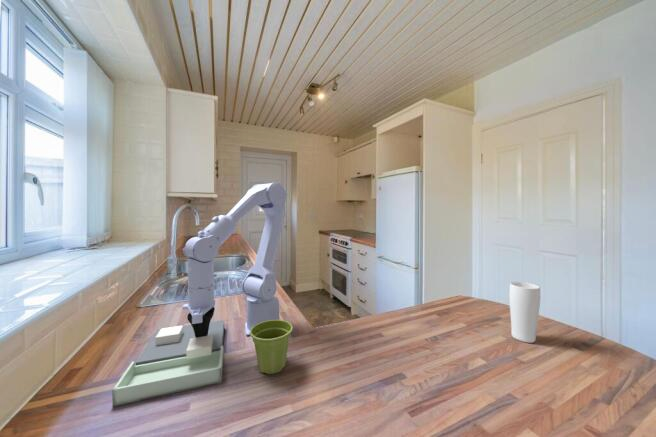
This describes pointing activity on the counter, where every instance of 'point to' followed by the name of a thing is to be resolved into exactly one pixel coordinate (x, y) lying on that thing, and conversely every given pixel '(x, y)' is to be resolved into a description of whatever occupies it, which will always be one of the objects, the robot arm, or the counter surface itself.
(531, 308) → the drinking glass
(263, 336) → the plant pot
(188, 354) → the tile
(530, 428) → the counter surface
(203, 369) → the tray
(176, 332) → the tile
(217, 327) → the board
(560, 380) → the counter surface
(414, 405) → the counter surface
